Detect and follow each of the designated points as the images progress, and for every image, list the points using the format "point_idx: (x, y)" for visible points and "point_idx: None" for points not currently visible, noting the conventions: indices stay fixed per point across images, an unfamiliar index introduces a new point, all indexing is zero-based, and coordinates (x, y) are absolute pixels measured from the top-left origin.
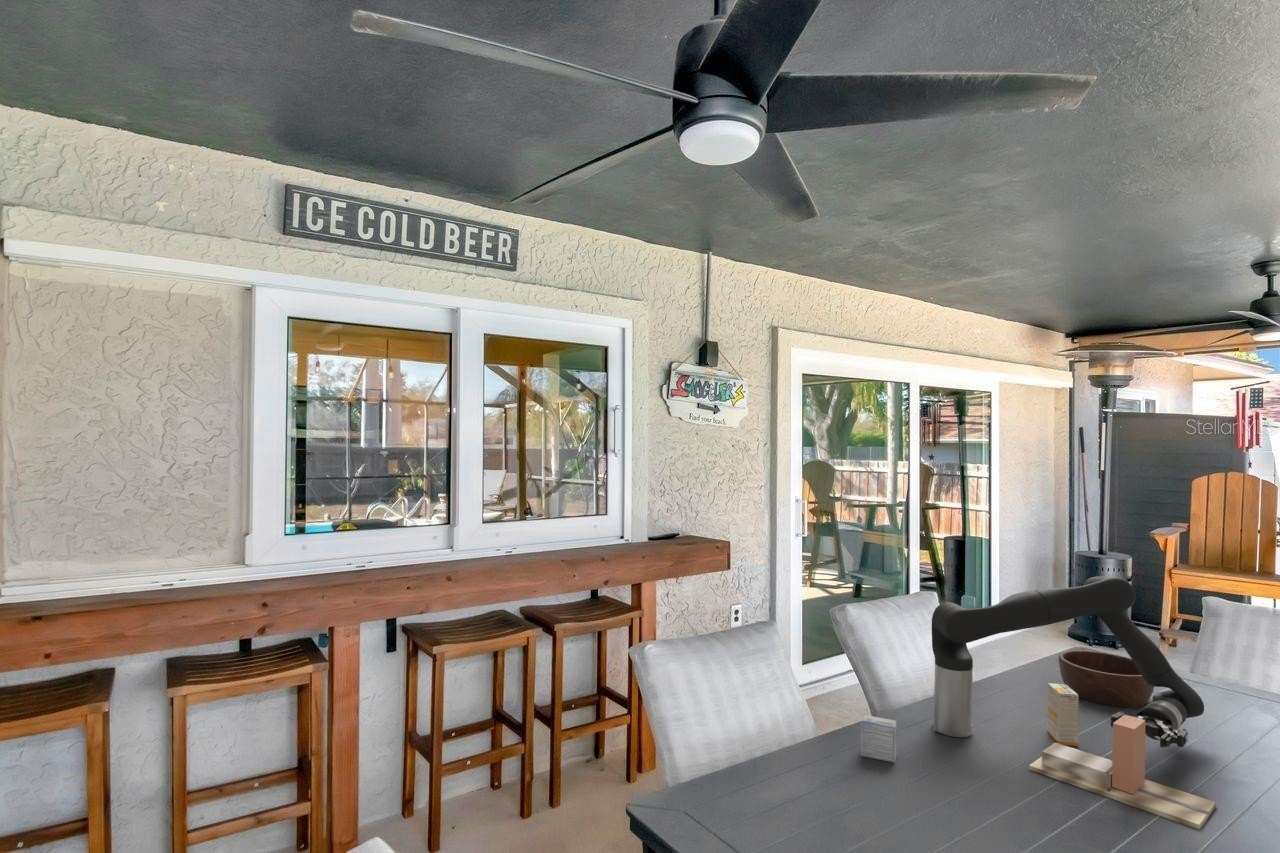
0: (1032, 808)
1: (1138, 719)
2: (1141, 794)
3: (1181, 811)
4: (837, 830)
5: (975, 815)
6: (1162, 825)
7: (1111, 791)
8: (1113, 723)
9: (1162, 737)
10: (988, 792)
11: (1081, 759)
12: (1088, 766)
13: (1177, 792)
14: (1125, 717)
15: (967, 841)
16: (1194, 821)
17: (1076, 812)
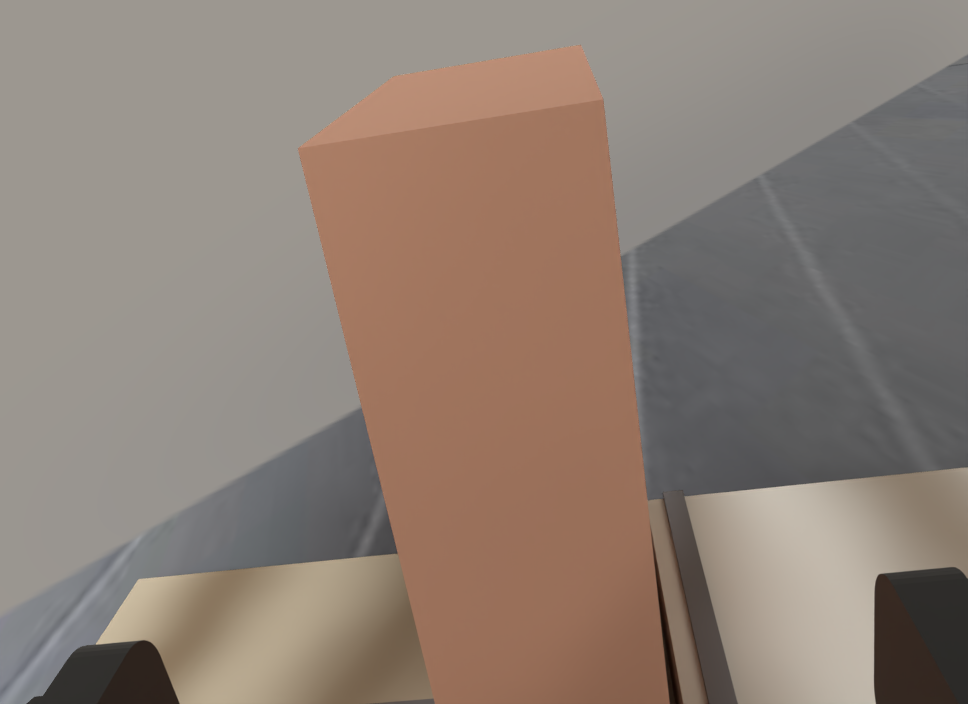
0: (777, 309)
1: (389, 124)
2: None
3: (208, 642)
4: (913, 112)
5: (834, 221)
6: (326, 519)
7: None
8: (575, 46)
9: (97, 661)
10: (964, 281)
11: (966, 541)
12: (825, 488)
13: None
14: (548, 88)
15: (741, 188)
16: (156, 590)
17: (656, 376)
